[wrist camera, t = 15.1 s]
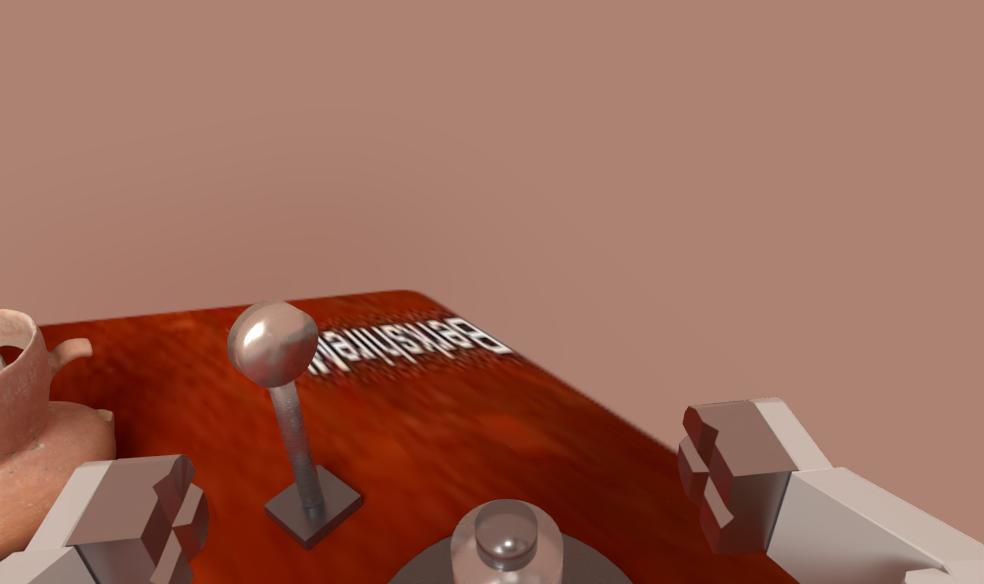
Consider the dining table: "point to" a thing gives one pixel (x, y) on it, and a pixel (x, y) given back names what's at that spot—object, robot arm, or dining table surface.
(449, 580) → the disc
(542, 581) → the capped metal canister
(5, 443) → the ceramic jug
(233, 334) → the metal joystick
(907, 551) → the robot arm
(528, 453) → the dining table surface
